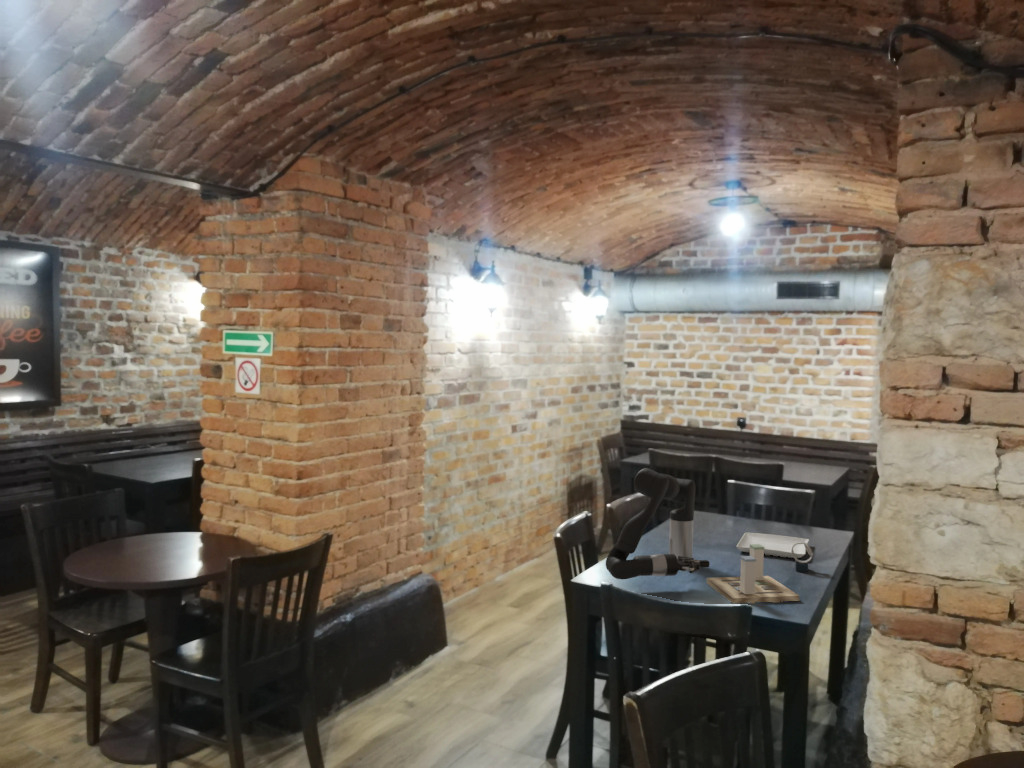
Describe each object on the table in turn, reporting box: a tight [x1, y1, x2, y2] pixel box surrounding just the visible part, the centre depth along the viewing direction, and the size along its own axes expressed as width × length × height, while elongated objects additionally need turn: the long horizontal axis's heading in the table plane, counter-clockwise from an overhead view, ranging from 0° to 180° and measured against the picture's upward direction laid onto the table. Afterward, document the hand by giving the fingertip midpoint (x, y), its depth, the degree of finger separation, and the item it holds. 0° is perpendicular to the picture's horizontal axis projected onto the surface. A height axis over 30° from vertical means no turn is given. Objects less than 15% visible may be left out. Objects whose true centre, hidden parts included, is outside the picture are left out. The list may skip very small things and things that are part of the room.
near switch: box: [739, 555, 756, 594], centre depth 261 cm, size 4×4×12 cm
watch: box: [791, 541, 814, 573], centre depth 295 cm, size 6×8×11 cm
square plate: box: [736, 532, 810, 559], centre depth 324 cm, size 27×27×4 cm
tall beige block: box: [749, 544, 765, 580], centre depth 276 cm, size 4×4×12 cm
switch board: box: [706, 575, 800, 604], centre depth 269 cm, size 24×22×2 cm
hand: (708, 563), depth 273 cm, fingers closed
